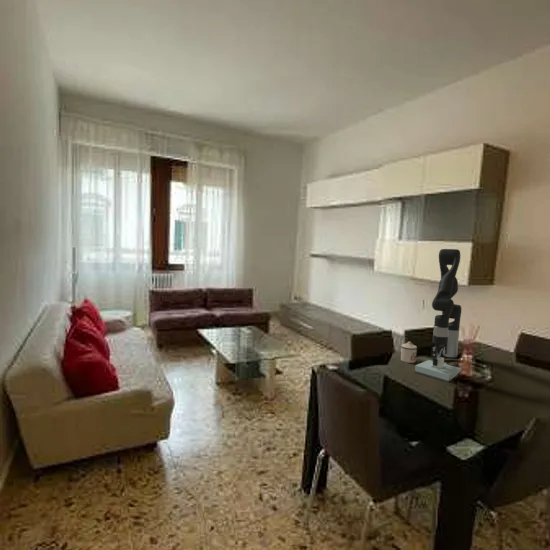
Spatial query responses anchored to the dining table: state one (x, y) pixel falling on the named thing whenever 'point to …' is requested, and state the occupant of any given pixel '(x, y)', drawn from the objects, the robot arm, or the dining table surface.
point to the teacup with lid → (408, 352)
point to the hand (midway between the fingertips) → (438, 363)
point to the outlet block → (437, 371)
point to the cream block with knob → (440, 363)
